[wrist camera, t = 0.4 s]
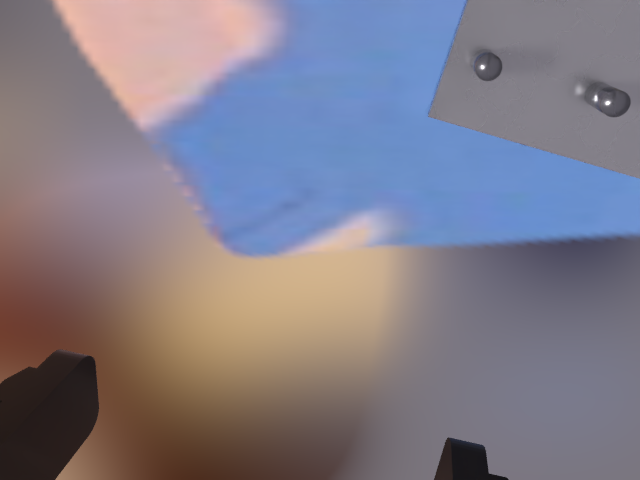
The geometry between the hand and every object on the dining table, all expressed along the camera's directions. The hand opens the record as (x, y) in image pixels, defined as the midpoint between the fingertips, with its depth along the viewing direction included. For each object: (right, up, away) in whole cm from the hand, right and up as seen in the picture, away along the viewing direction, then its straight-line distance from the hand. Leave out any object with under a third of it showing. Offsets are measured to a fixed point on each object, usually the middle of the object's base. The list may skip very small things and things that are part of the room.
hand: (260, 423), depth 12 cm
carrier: (+17, +16, +20) cm, 31 cm away
